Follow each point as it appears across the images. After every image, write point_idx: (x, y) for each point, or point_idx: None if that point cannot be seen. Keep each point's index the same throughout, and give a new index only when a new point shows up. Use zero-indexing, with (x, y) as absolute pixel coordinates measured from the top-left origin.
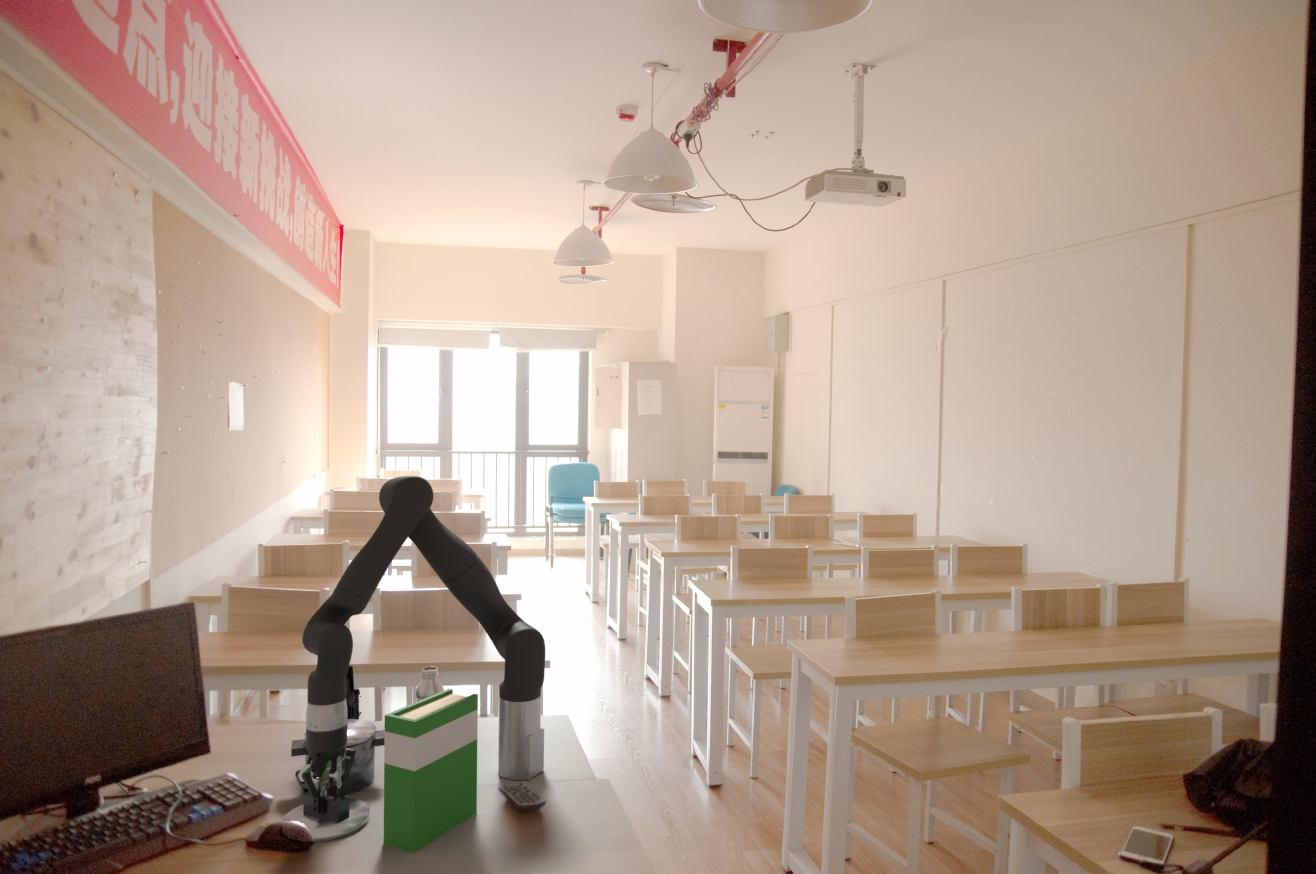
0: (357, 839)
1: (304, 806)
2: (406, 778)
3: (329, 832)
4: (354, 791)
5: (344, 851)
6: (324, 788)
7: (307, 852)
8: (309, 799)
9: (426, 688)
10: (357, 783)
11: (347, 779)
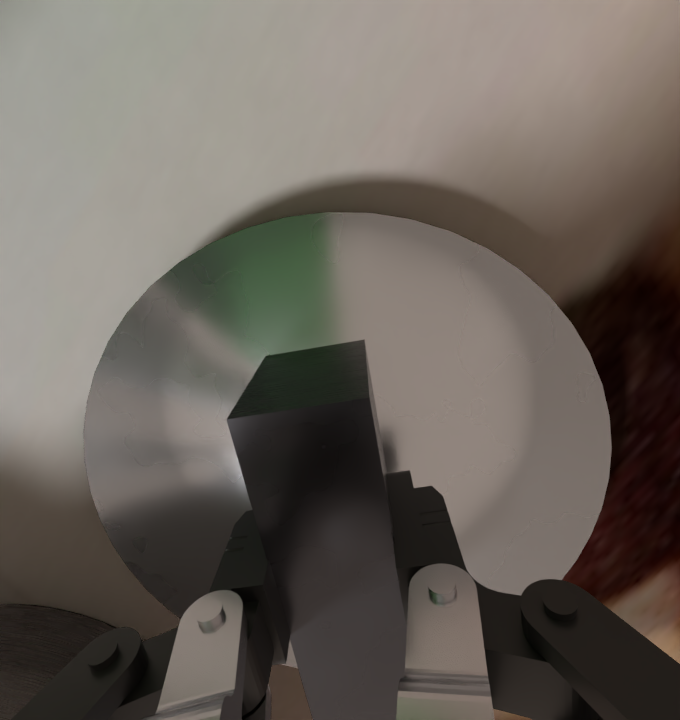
0: (374, 99)
1: None
2: None
3: (484, 278)
4: (50, 611)
5: (545, 13)
6: (420, 635)
7: (668, 233)
8: None
9: None
10: (4, 645)
11: (96, 641)
